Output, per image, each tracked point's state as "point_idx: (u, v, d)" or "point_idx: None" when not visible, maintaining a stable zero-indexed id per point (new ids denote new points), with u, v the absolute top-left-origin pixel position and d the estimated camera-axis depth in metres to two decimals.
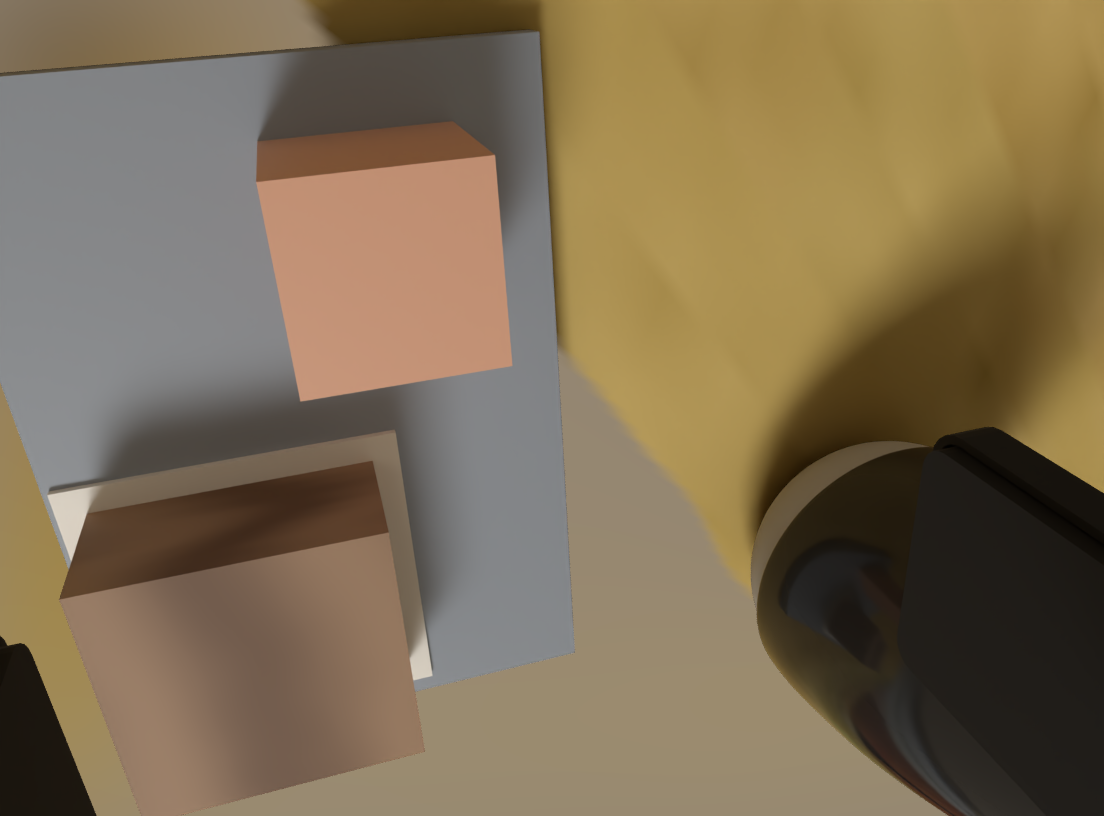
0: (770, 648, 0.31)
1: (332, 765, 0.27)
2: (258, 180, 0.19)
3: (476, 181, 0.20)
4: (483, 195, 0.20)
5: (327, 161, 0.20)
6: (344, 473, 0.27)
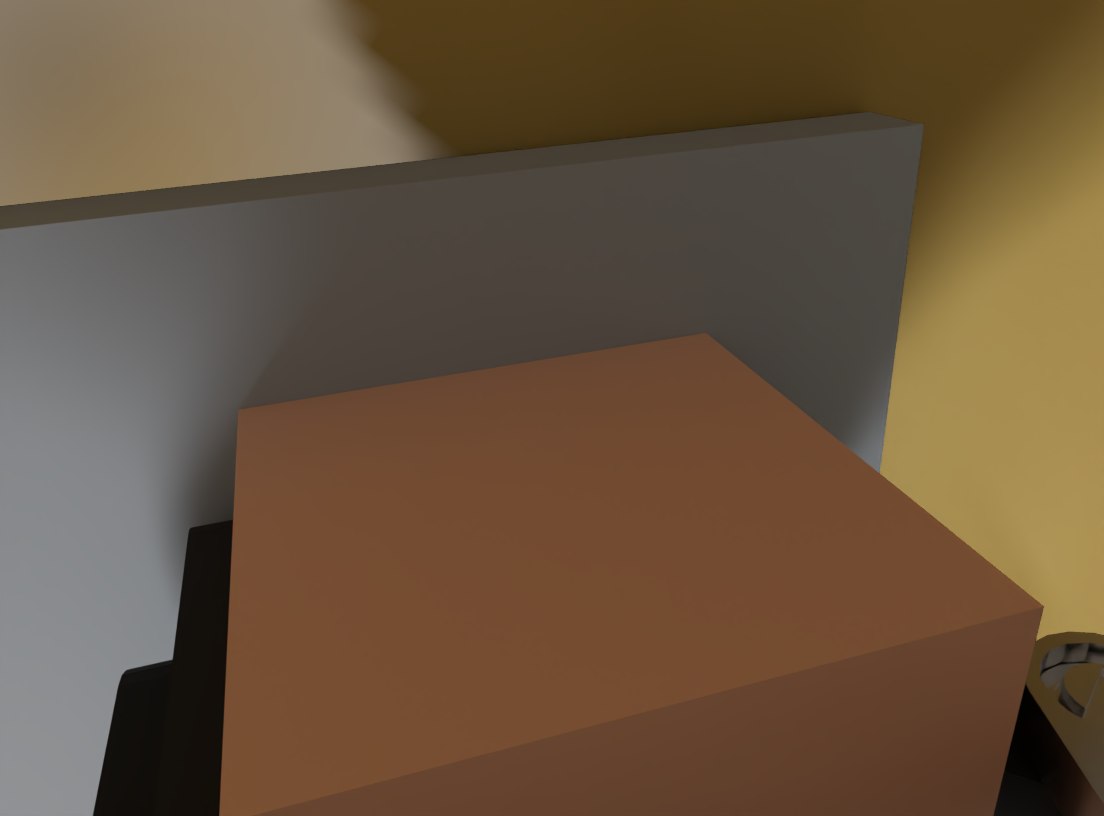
0: None
1: None
2: (229, 801, 0.05)
3: (971, 682, 0.06)
4: (977, 717, 0.06)
5: (461, 599, 0.06)
6: None
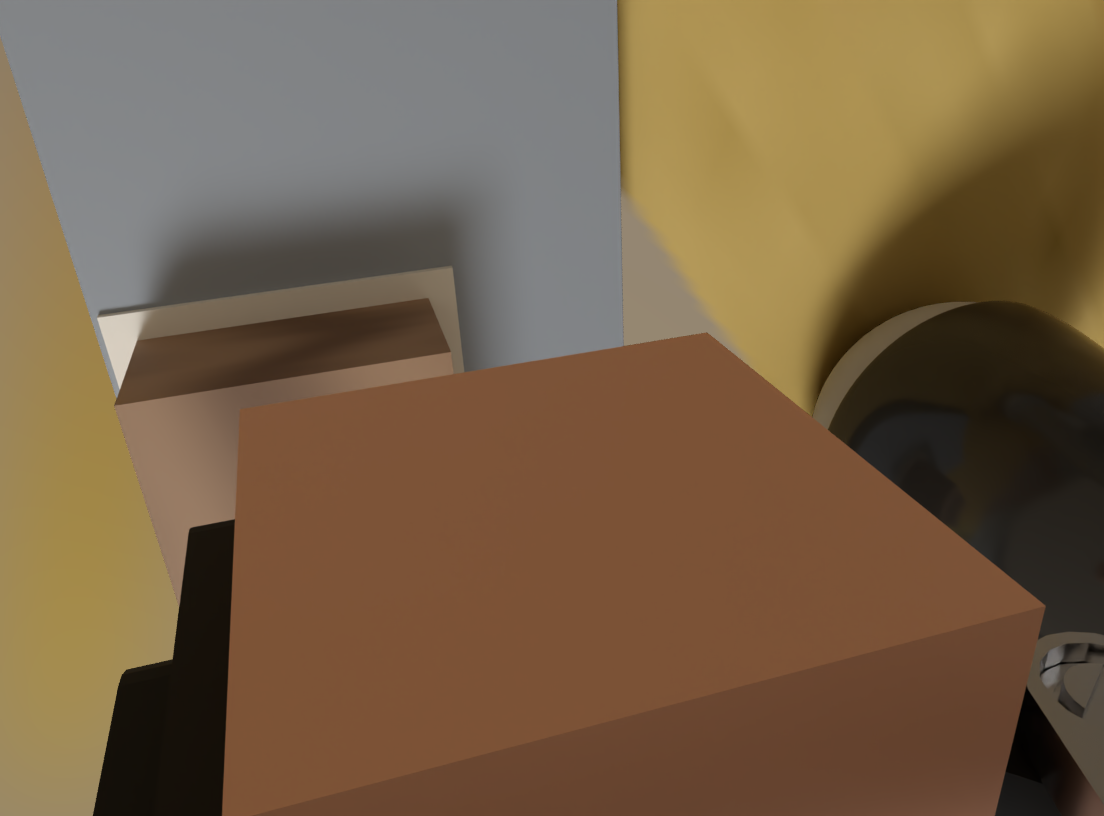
0: None
1: None
2: (231, 800, 0.05)
3: (973, 682, 0.06)
4: (979, 716, 0.06)
5: (463, 599, 0.06)
6: (400, 307, 0.26)
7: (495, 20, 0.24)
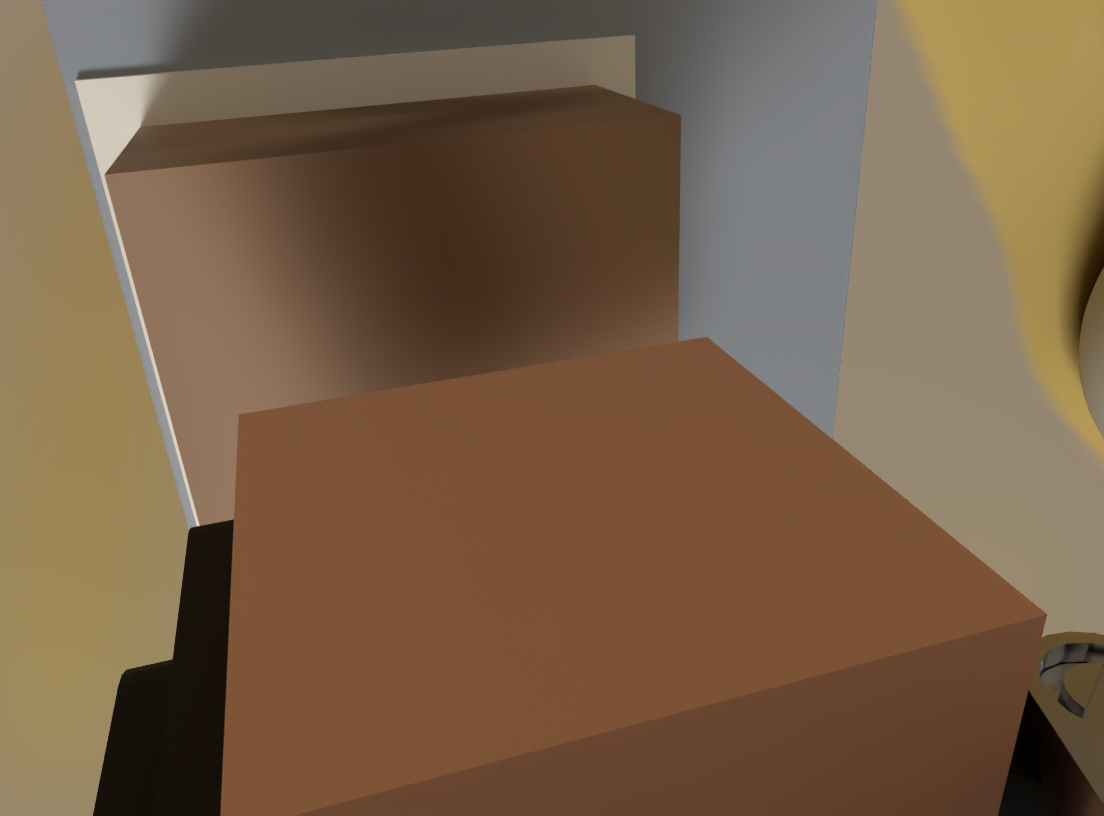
0: None
1: None
2: (229, 811, 0.05)
3: (973, 690, 0.06)
4: (980, 725, 0.06)
5: (463, 607, 0.06)
6: (557, 92, 0.16)
7: None
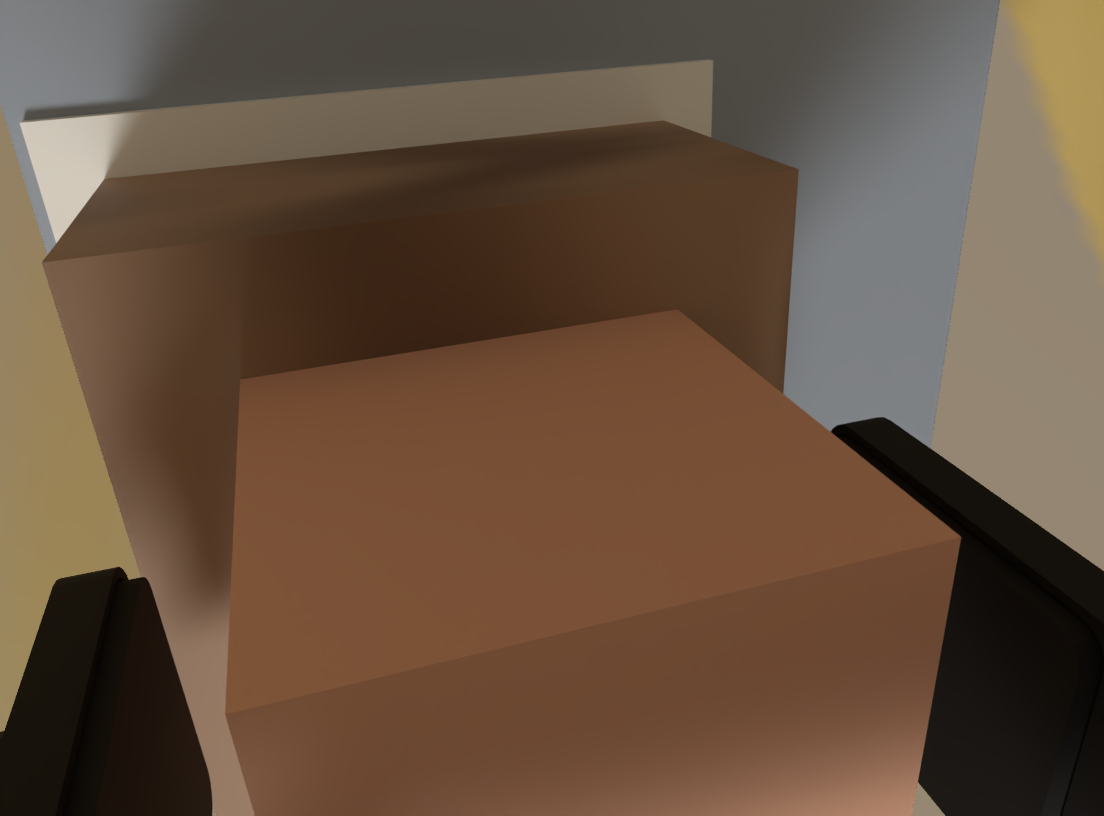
0: None
1: None
2: (233, 696, 0.05)
3: (897, 606, 0.07)
4: (906, 639, 0.07)
5: (442, 536, 0.07)
6: (620, 130, 0.13)
7: None
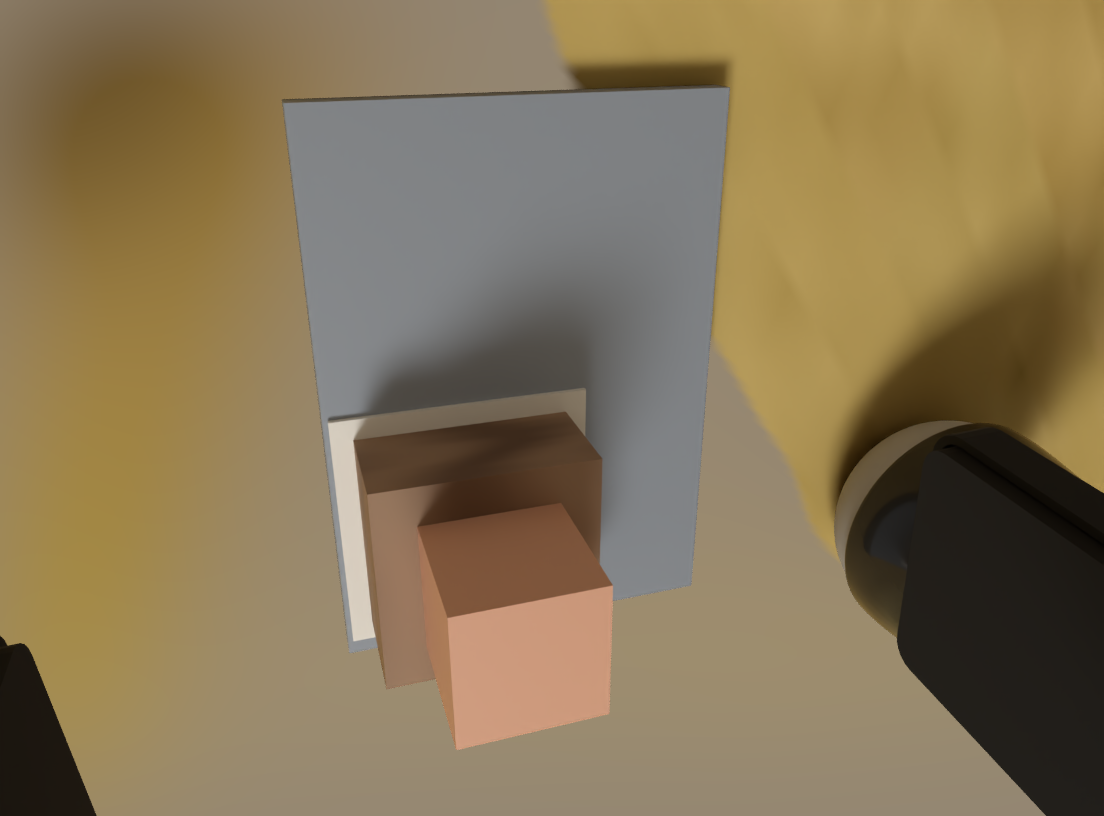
0: (856, 581, 0.38)
1: None
2: (448, 615, 0.26)
3: (598, 601, 0.27)
4: (601, 610, 0.27)
5: (488, 581, 0.27)
6: (547, 419, 0.34)
7: (636, 216, 0.32)
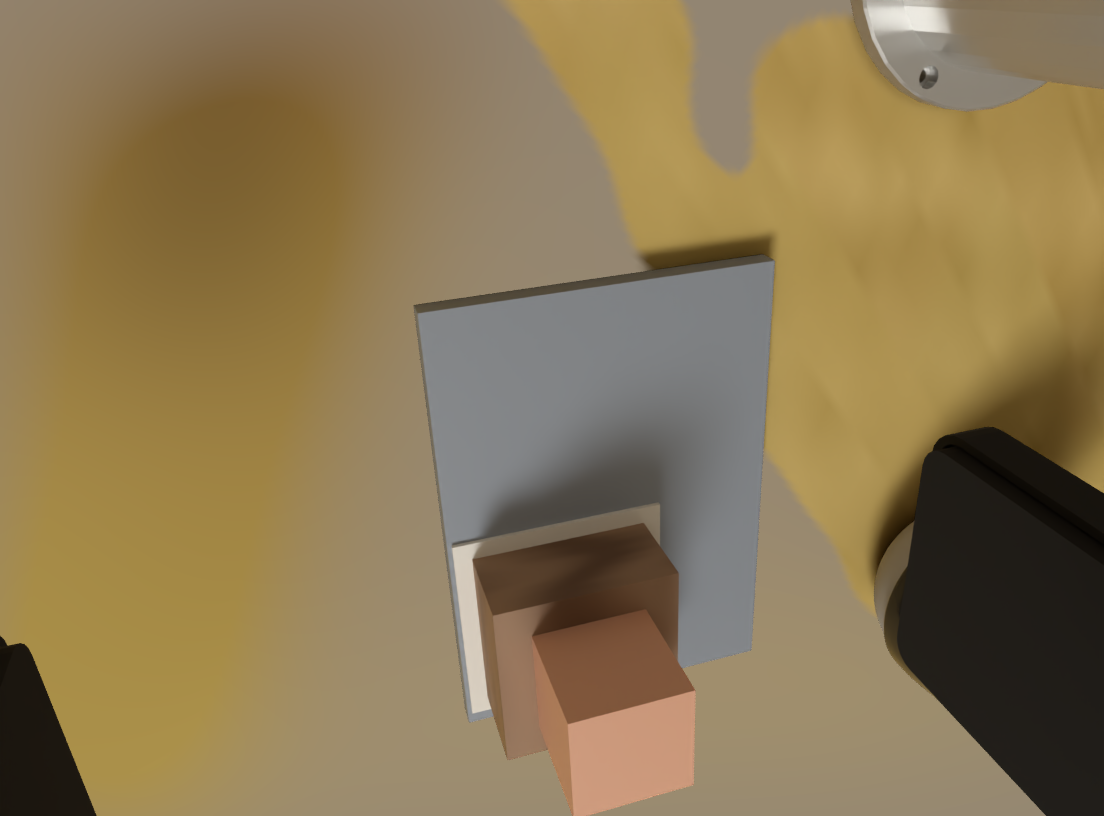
0: (894, 647, 0.45)
1: None
2: (567, 721, 0.33)
3: (684, 703, 0.34)
4: (686, 709, 0.34)
5: (595, 688, 0.34)
6: (629, 532, 0.41)
7: (698, 367, 0.39)
